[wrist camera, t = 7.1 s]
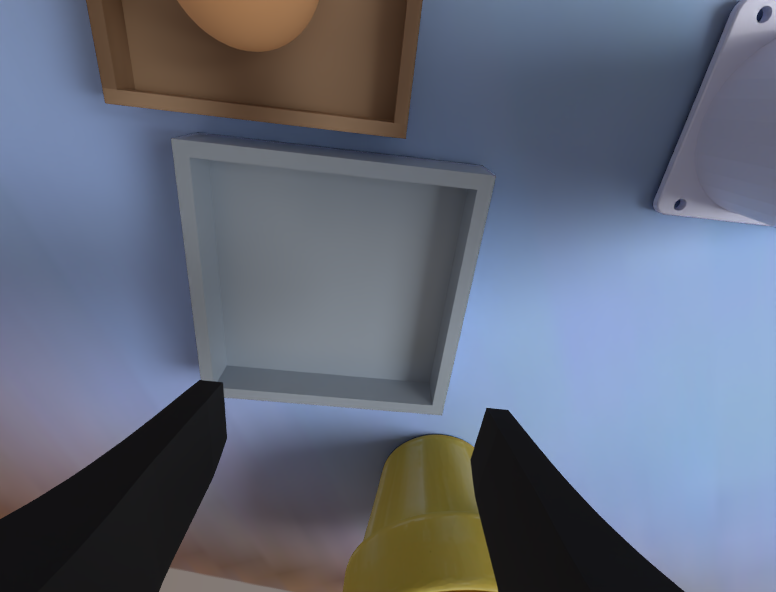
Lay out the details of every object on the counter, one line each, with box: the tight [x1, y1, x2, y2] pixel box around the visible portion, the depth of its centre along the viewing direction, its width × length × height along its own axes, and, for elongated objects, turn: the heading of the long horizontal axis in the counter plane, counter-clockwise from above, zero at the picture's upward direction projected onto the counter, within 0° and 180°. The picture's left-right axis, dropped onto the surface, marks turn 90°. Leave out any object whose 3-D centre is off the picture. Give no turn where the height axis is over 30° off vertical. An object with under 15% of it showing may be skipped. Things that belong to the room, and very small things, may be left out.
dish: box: [171, 133, 496, 415], centre depth 19 cm, size 12×12×2 cm
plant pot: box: [343, 435, 498, 592], centre depth 22 cm, size 10×10×10 cm
